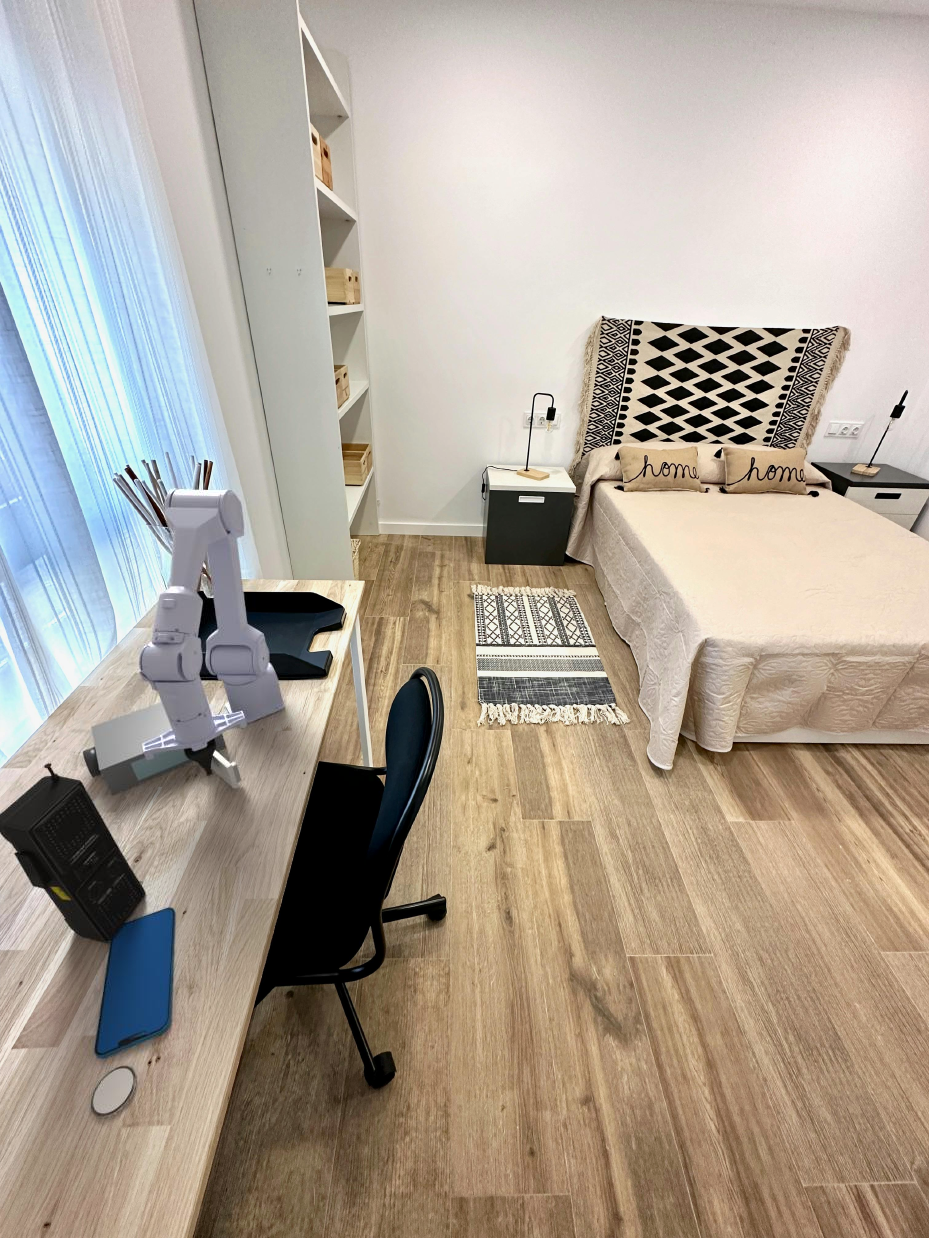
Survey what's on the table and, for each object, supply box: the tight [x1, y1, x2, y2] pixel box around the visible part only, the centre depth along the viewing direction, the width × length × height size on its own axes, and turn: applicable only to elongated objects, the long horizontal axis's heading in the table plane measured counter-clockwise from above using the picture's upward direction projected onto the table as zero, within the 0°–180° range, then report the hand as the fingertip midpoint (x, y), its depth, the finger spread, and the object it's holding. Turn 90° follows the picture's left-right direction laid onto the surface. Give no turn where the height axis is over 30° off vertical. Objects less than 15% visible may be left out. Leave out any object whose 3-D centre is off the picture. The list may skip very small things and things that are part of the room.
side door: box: [211, 750, 242, 789], centre depth 86 cm, size 10×2×5 cm, turn 52°
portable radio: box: [0, 762, 147, 944], centre depth 61 cm, size 8×6×25 cm
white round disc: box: [90, 1065, 138, 1119], centre depth 52 cm, size 4×4×1 cm
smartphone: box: [93, 906, 176, 1060], centre depth 61 cm, size 7×1×15 cm
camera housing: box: [82, 699, 227, 796], centre depth 90 cm, size 20×12×6 cm, turn 127°
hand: (209, 770), depth 85 cm, fingers closed
